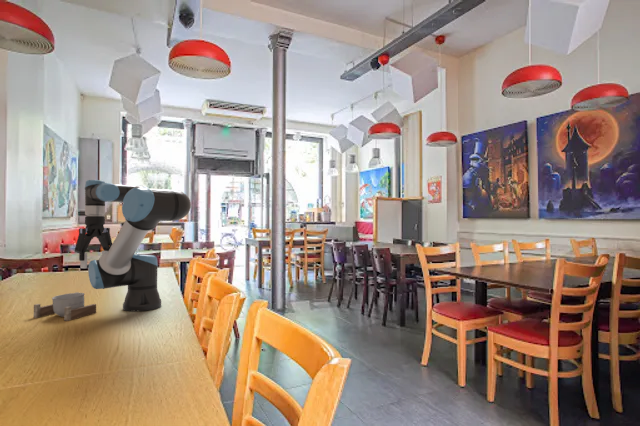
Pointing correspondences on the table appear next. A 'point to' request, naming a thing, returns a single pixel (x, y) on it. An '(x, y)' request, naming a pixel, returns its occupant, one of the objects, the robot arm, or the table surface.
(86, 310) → the brown parallel rails
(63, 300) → the teacup
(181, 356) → the table surface
